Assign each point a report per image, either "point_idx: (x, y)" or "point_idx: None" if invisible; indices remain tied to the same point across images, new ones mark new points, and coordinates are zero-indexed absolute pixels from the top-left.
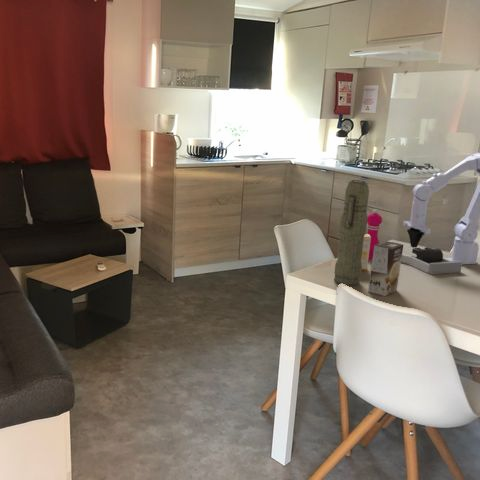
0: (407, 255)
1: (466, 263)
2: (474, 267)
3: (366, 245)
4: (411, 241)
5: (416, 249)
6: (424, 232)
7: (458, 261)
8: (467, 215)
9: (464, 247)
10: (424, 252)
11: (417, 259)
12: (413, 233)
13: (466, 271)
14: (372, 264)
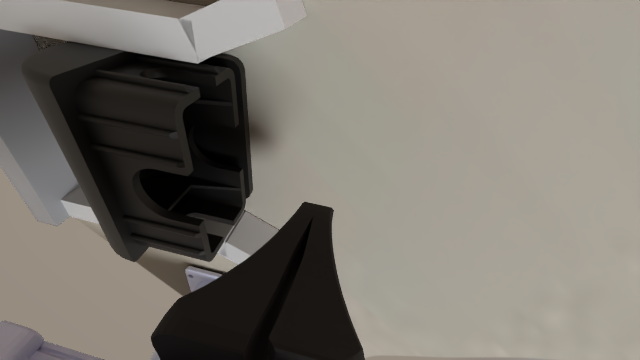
0: (220, 38)
1: (190, 288)
2: (161, 278)
3: None
4: (308, 237)
5: (131, 110)
6: (70, 355)
7: (45, 215)
8: None
9: (153, 354)
10: (37, 100)
11: (97, 28)
12: (206, 305)
13: None
14: None
